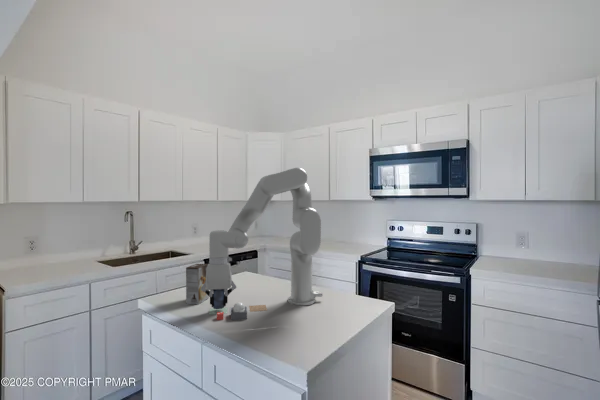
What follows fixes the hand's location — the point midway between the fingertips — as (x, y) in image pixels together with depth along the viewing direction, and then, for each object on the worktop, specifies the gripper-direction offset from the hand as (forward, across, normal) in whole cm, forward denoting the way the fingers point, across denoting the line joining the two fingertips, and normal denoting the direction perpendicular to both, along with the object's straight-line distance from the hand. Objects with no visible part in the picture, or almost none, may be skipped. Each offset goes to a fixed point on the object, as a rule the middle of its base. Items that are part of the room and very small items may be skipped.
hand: (218, 305), depth 124 cm
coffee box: (+3, +10, -16) cm, 19 cm away
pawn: (+1, 0, 0) cm, 1 cm away
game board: (+3, -8, +4) cm, 9 cm away
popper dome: (+3, -8, +8) cm, 12 cm away
